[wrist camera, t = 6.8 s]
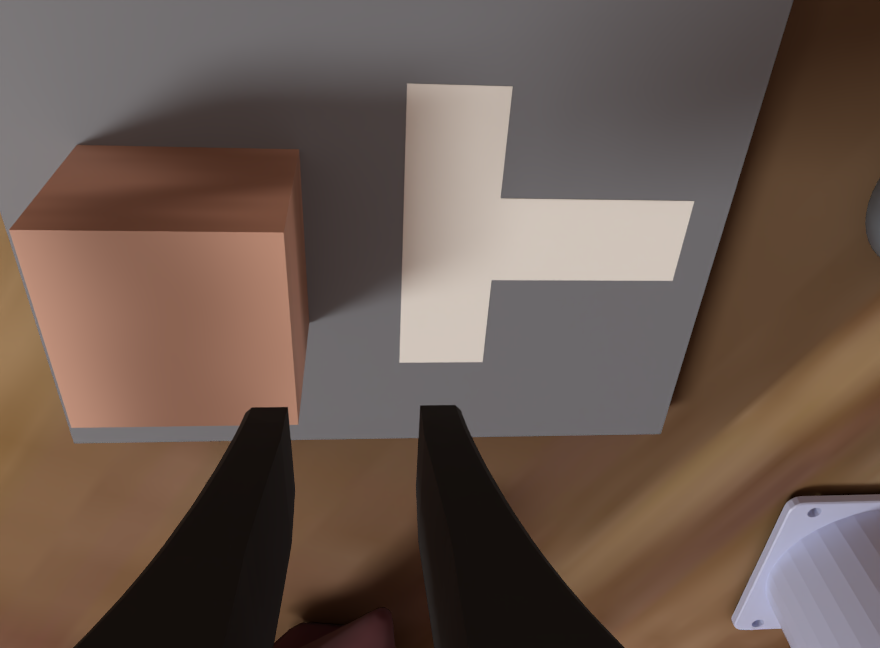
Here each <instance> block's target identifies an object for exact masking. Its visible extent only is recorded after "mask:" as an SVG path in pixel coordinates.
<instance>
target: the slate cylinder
mask: <svg viewBox="0 0 880 648" xmlns="http://www.w3.org/2000/svg"><path fill="white" fill-rule="evenodd" d="M866 233H867V237H868V241H869V243H870V245H871V247H872V249H873V250H874V251H875V253H876V254H877V255H878V256H879V257H880V179H879V180H878V182H877V184H876V186H875V188H874V190H873V192H872V195H871V198H870V201H869V203H868V208H867V213H866Z"/></svg>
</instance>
